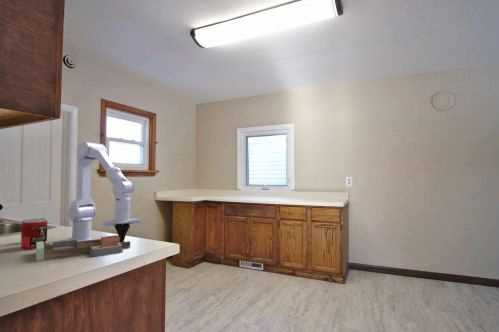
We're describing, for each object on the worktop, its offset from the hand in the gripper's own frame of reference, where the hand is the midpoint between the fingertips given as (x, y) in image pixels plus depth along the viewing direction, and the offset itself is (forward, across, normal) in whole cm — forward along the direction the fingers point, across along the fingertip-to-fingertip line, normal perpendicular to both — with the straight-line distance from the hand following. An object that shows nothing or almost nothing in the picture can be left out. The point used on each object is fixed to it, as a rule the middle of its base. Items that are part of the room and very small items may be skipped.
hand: (121, 242), depth 115 cm
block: (+1, -4, 0) cm, 5 cm away
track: (+1, -12, 0) cm, 12 cm away
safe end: (+1, -27, 0) cm, 27 cm away
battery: (+2, -28, +28) cm, 40 cm away
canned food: (+2, -29, +17) cm, 34 cm away
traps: (+1, -13, 0) cm, 13 cm away
